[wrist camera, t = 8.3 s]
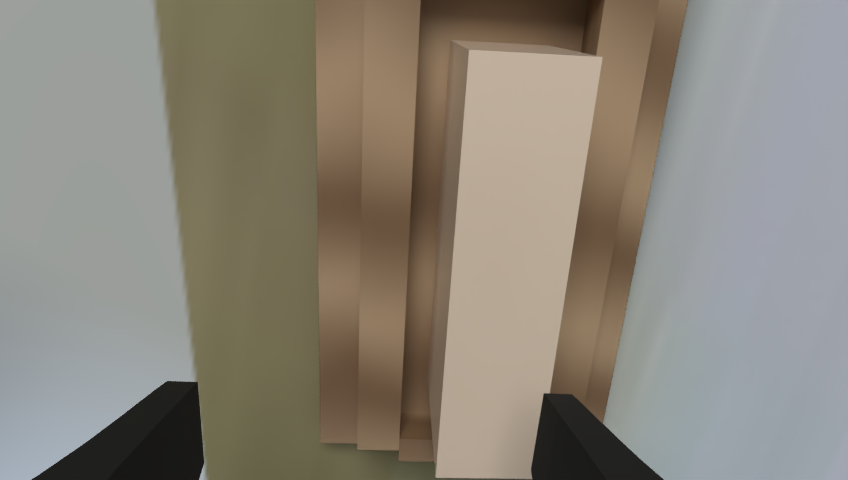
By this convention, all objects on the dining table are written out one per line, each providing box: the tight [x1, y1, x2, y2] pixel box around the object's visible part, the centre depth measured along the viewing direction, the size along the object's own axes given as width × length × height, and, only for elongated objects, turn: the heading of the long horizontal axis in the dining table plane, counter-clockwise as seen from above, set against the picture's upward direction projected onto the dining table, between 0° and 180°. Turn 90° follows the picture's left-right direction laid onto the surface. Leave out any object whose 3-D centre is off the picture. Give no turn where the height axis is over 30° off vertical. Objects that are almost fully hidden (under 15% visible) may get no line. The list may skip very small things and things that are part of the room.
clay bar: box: [428, 40, 603, 479], centre depth 17 cm, size 12×3×5 cm, turn 177°
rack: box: [315, 0, 688, 462], centre depth 20 cm, size 18×11×2 cm, turn 177°
